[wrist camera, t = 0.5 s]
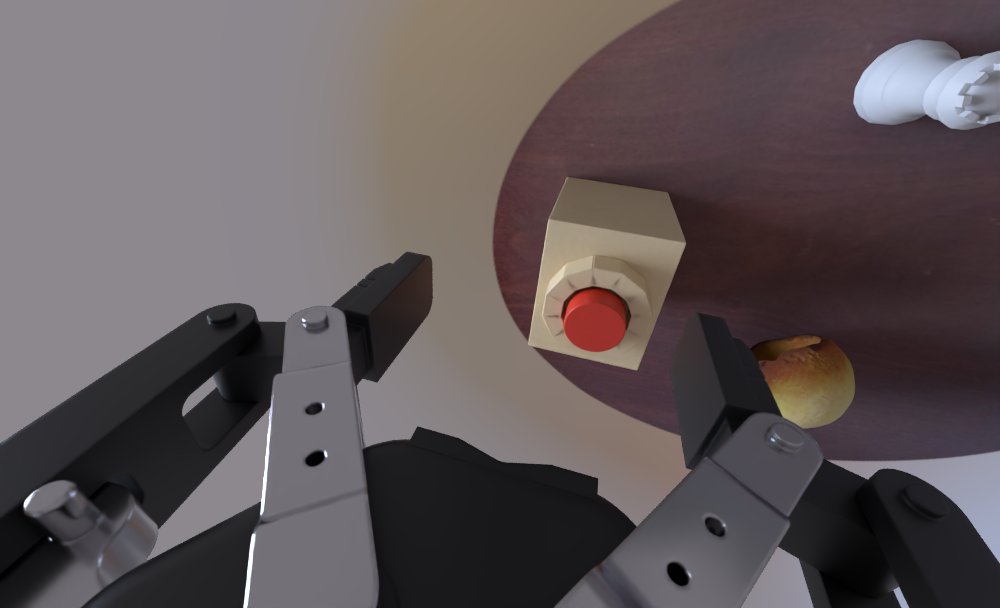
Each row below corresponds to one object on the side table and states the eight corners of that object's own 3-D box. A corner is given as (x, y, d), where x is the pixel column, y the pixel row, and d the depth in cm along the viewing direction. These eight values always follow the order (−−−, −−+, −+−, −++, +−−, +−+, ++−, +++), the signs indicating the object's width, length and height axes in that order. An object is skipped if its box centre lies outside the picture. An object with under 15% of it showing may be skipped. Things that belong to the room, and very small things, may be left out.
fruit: (704, 356, 37) (722, 419, 30) (776, 295, 32) (816, 355, 26) (770, 393, 37) (802, 464, 31) (851, 338, 32) (910, 409, 26)
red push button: (572, 282, 23) (569, 297, 22) (632, 294, 23) (633, 310, 21) (562, 328, 25) (558, 345, 24) (617, 341, 25) (617, 358, 23)
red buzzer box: (567, 176, 31) (543, 229, 22) (668, 192, 30) (691, 256, 20) (548, 281, 37) (523, 361, 27) (633, 298, 36) (638, 388, 26)
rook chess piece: (961, 78, 23) (1099, 85, 16) (874, 138, 25) (963, 166, 19) (919, 20, 22) (1046, 4, 15) (834, 88, 24) (912, 99, 18)
